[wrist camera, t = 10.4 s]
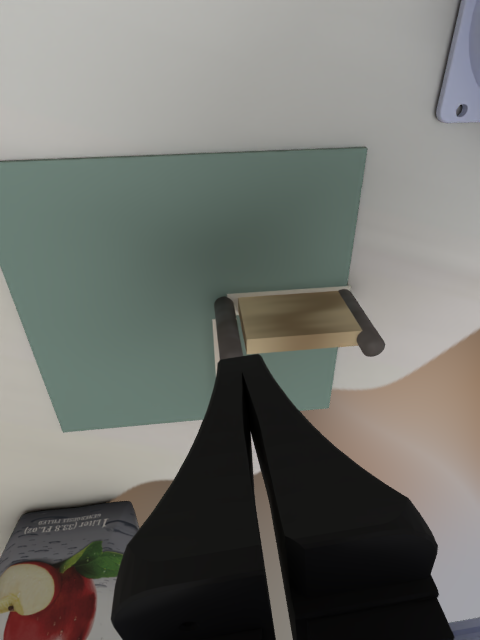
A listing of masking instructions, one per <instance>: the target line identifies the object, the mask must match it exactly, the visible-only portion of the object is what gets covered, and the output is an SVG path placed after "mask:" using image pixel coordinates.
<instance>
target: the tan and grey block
mask: <svg viewBox="0 0 480 640" xmlns="http://www.w3.org/2000/svg"><path fill="white" fill-rule="evenodd" d="M214 309H215V319H216V328H217V338H218V347H219V357H220V360H221V359H227V358H234V357H240V356H243V352H242V347H241V341H240V336H239V330H238V325H237V319H236V314H235V308H234V303H233V301H232V300H231V299H230V298H228V297H225V296H224V297H220V298H218V299H217V300H216V301H215V303H214ZM238 312H239V317H240V322H241V327H242V333H243V338H244V343H245V348H246V353H247V354H258V353H271V352H283V351H296V350H309V349H321V348H334V347H346V346H359V347H360V348H361V350H362V352H363V353H364V355H366V356H370V357H372V356H376V355H378V354H380V353H381V352H382V351H383V350H384V347H385V343H384V341H383V339H382V338H381V336H380V335H379V333H378V332H377V330H376V329H375V327H374V326H373V324H372V323H371V322H370V320H369V319H368V317H367V316H366V314H365V313H364V311H363V310H362V308H361V307H360V305H359V304H358V302H357V301H356V299H355V298H354V296H353V295H352V293H351V292H350V291H349V290H347V289H341V290H339V291H329V292H314V293H299V294H284V295H270V296H255V297H240V298H238Z"/></svg>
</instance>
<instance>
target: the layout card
mask: <svg viewBox="0 0 480 640" xmlns="http://www.w3.org/2000/svg"><path fill="white" fill-rule="evenodd" d="M366 155H367V148H366V147H354V148H328V149H302V150H276V151H250V152H224V153H198V154H172V155H146V156H120V157H94V158H68V159H43V160H17V161H0V266H1V269H2V272H3V274H4V277H5V279H6V282H7V285H8V287H9V290H10V293H11V295H12V298H13V301H14V303H15V306H16V309H17V311H18V314H19V317H20V319H21V322H22V325H23V327H24V330H25V333H26V335H27V338H28V341H29V343H30V346H31V349H32V351H33V354H34V357H35V359H36V362H37V365H38V367H39V370H40V373H41V375H42V378H43V380H44V383H45V386H46V388H47V391H48V394H49V396H50V399H51V402H52V404H53V407H54V410H55V412H56V415H57V418H58V420H59V423H60V426H61V428H62V431H63V432H73V431H84V430H94V429H105V428H116V427H127V426H138V425H149V424H160V423H171V422H182V421H193V420H203V419H204V416H205V414H206V411H207V408H208V405H209V402H210V398H211V395H212V392H213V388H214V384H215V379H216V374H217V363H218V362H219V361H220V357H219V347H218V338H217V328H216V319H215V309H214V303H215V301H216V300H217V299H218V298H220V297H224V296H225V297H228V298H230V299H231V300H232V301H233V303H234V308H235V314H236V319H237V325H238V330H239V336H240V341H241V347H242V352H243V356H246V355H253V354H247V353H246V348H245V343H244V338H243V333H242V327H241V322H240V317H239V312H238V298H240V297H255V296H270V295H284V294H299V293H314V292H329V291H339V290H341V289H347V290H349V291H350V288H351V286H347V282H348V276H349V269H350V262H351V256H352V249H353V242H354V235H355V229H356V222H357V215H358V209H359V202H360V195H361V188H362V182H363V175H364V168H365V162H366ZM337 350H338V347H334V348H321V349H309V350H296V351H283V352H271V353H258V354H259V355H261V356H262V358H263V360H264V362H265V364H266V366H267V368H268V369H269V371H270V373H271V374H272V376H273V377H274V379H275V380H276V382H277V383H278V385H279V386H280V387H281V389H282V390H283V391H284V393H285V394H286V395H287V397H288V398H289V399H290V400H291V402H292V403H293V404H294V405H295V406H296V408H297V409H298V410H299V411H301V410H313V409H324V408H329V403H330V396H331V390H332V383H333V376H334V370H335V363H336V356H337Z"/></svg>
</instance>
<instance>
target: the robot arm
mask: <svg viewBox="0 0 480 640" xmlns="http://www.w3.org/2000/svg"><path fill="white" fill-rule="evenodd" d="M460 105H462V106H463V110H462V112H461V113H460V114H459V115H456V110H457V108H458V107H459V106H460ZM436 116H437V118H438V120H439V121H441V122H445V123H466V122H480V0H461V4H460V9H459V13H458V18H457V22H456V26H455V31H454V35H453V40H452V44H451V49H450V53H449V57H448V62H447V66H446V71H445V75H444V80H443V84H442V88H441V93H440V97H439V102H438V106H437V111H436ZM250 431H251V432H250ZM251 434H252V438H253V442H254V446H255V449H256V453H257V457H258V461H259V464H260V468H261V472H262V476H263V479H264V483H265V487H266V490H267V495H268V499H269V503H270V508H271V514H272V520H273V525H274V531H275V537H276V543H277V549H278V554H279V560H280V566H281V572H282V578H283V583H284V589H285V595H286V601H287V607H288V612H289V619H290V625H291V631H292V636H293V640H480V617H479V618H474V619H468V620H463V621H457V622H451V623H448V622H447V619H446V617H445V615H444V613H443V610H442V608H441V606H440V604H439V602H438V599H437V597H438V595H439V593H438V590H437V587H436V585H435V583H434V581H433V579H432V576H431V571H432V568H433V565H434V562H435V559H436V555H437V548H438V545H437V543H436V541H435V539H434V536H433V534H432V532H431V530H430V529H429V527H428V525H427V524H426V522H425V521H424V519H423V518H422V516H421V515H420V513H419V512H418V510H417V509H416V508H415V506H414V505H413V504H412V502H411V501H410V500H409V498H407V497H405V496H404V495H402V494H401V493H399V492H397V491H396V490H394V489H392V488H391V487H389V486H388V485H386V484H385V483H383V482H382V481H380V480H379V479H377V478H376V477H374V476H373V475H372V474H370V473H369V472H367V471H366V470H365V469H363V468H362V467H360V466H359V465H358V464H356V463H355V462H354V461H353V460H351V459H350V458H349V457H348V456H346V455H345V454H344V453H343V452H341V451H340V450H339V449H338V448H336V447H335V446H334V445H333V444H332V443H331V442H330V441H329V440H327V439H326V438H325V437H324V436H323V435H322V434H321V433H320V432H319V431H318V430H317V429H316V428H315V427H314V426H313V425H312V424H311V423H310V422H309V421H308V420H307V419H306V418H305V417H304V416H303V415H302V413H301V412H300V411H299V410H298V409H297V408H296V406H295V405H294V404H293V403H292V402H291V400H290V399H289V398H288V397H287V395H286V394H285V393H284V391H283V390H282V389H281V387H280V386H279V385H278V383H277V382H276V380H275V379H274V377H273V376H272V374H271V373H270V371H269V369H268V368H267V366H266V364H265V362H264V360H263V358H262V356H261V355H259V354H253V355H246V356H240V357H234V358H227V359H221V360H220V361H219V362H218V363H217V374H216V379H215V384H214V388H213V392H212V395H211V398H210V402H209V405H208V408H207V411H206V414H205V416H204V419H203V422H202V424H201V427H200V429H199V432H198V434H197V436H196V439H195V441H194V443H193V445H192V447H191V449H190V451H189V453H188V455H187V457H186V459H185V461H184V463H183V464H182V466H181V468H180V470H179V472H178V474H177V475H176V477H175V479H174V480H173V482H172V484H171V485H170V487H169V488H168V490H167V491H166V493H165V494H164V496H163V497H162V499H161V500H160V502H159V503H158V505H157V506H156V508H155V509H154V511H153V512H152V513H151V515H150V516H149V517H148V519H147V520H146V521H145V522H144V524H143V525H142V526H141V528H140V529H139V530H138V531H137V533H136V534H135V535H134V536H133V538H132V539H131V540H130V542H129V543H128V544H127V546H126V549H125V552H124V555H123V558H122V561H121V564H120V568H119V571H118V575H117V579H116V583H115V589H114V596H113V604H112V612H111V622H112V625H113V627H114V629H115V630H116V631H117V633H118V634H119V636H120V637H121V638H122V640H276V638H275V632H274V625H273V618H272V612H271V605H270V599H269V592H268V586H267V579H266V572H265V566H264V559H263V552H262V546H261V539H260V532H259V527H258V519H257V513H256V506H255V495H254V480H253V463H252V447H251Z"/></svg>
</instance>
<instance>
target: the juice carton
mask: <svg viewBox="0 0 480 640" xmlns="http://www.w3.org/2000/svg"><path fill="white" fill-rule="evenodd" d="M139 529H140V528H139V526H138V522H137V518H136V514H135V511H134V508H133V506H132V503H131V502H129V501H120V502H111V503H104V504H97V505H91V506H84V507H77V508H68V509H57V510H47V511H39V512H32V513H27V514H24V515H22V516H21V518H20V520H19V521H18V523H17V525H16V527H15V529H14V531H13V533H12V535H11V537H10V539H9V541H8V543H7V545H6V547H5V549H4V551H3V553H2V556H1V558H0V640H122V638H121V637H120V636H119V634H118V633H117V631H116V630H115V629H114V627H113V625H112V622H111V612H112V604H113V596H114V589H115V583H116V579H117V575H118V571H119V568H120V564H121V561H122V558H123V555H124V552H125V549H126V546H127V544H128V543H129V542H130V540H131V539H132V538H133V536H134V535H135V534H136V533H137V531H138V530H139Z"/></svg>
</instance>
